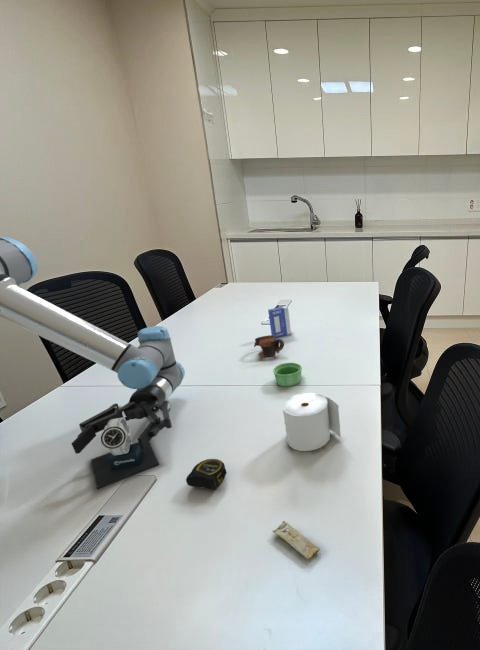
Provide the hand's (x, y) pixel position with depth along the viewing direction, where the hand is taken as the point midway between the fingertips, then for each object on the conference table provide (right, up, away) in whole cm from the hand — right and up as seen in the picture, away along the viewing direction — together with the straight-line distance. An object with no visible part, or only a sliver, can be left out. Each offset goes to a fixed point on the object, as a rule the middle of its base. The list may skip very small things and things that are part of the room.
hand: (108, 446), depth 84 cm
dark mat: (0, -5, +6) cm, 8 cm away
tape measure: (+23, -8, -1) cm, 24 cm away
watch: (+1, -5, +6) cm, 8 cm away
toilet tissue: (+42, -1, +13) cm, 44 cm away
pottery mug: (+19, +20, +61) cm, 67 cm away
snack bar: (+44, -13, -15) cm, 48 cm away
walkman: (+19, +27, +79) cm, 85 cm away
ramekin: (+30, +11, +41) cm, 52 cm away
